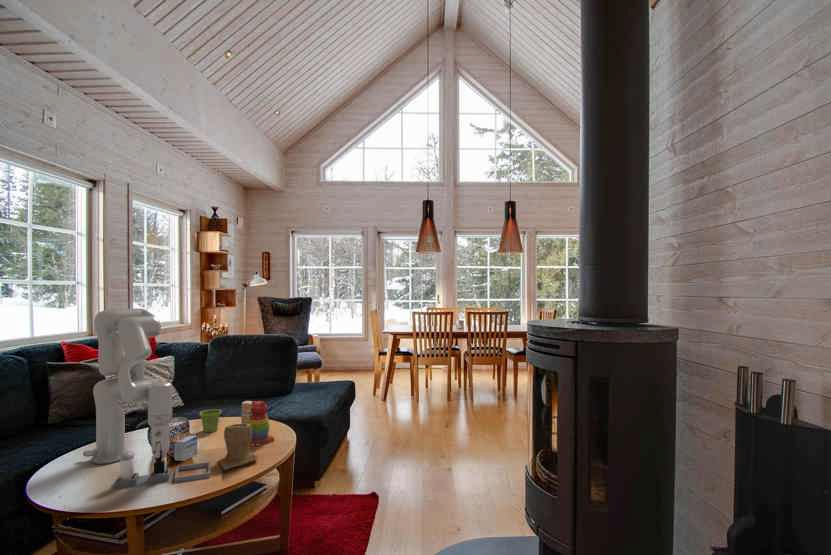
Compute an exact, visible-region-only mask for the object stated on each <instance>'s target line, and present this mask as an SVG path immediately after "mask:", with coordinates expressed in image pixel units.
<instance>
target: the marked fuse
mask: <svg viewBox="0 0 831 555" xmlns="http://www.w3.org/2000/svg"><path fill="white" fill-rule="evenodd" d="M160 452H162V451H160ZM167 453H168V452H167ZM167 453H165V452H164V473H160V474H154V462H152V463H153V464H152V465H153V470H152V471H153V476H157V475H165V474H166V469H167ZM154 454H155V453H154ZM154 454H152V455H153V457H152V458H153V460H154ZM160 456H162V454H161V455H160Z"/></svg>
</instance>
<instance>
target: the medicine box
mask: <svg viewBox="0 0 831 555" xmlns="http://www.w3.org/2000/svg"><path fill="white" fill-rule="evenodd" d="M187 436H188V437H187ZM187 436H185V437H182V438H180V439H178V440H176V441H175V442H174V461H180V462H185V461H187V460H189V459H191V458H192V457H195V456H196V455H198V436H197V435H187Z"/></svg>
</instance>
